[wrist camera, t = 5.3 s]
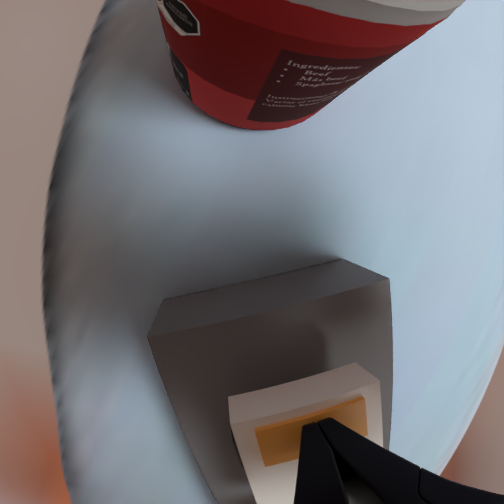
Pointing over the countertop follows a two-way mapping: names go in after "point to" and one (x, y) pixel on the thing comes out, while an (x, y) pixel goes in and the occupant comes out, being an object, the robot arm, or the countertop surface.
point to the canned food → (285, 51)
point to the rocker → (299, 424)
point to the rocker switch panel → (267, 351)
